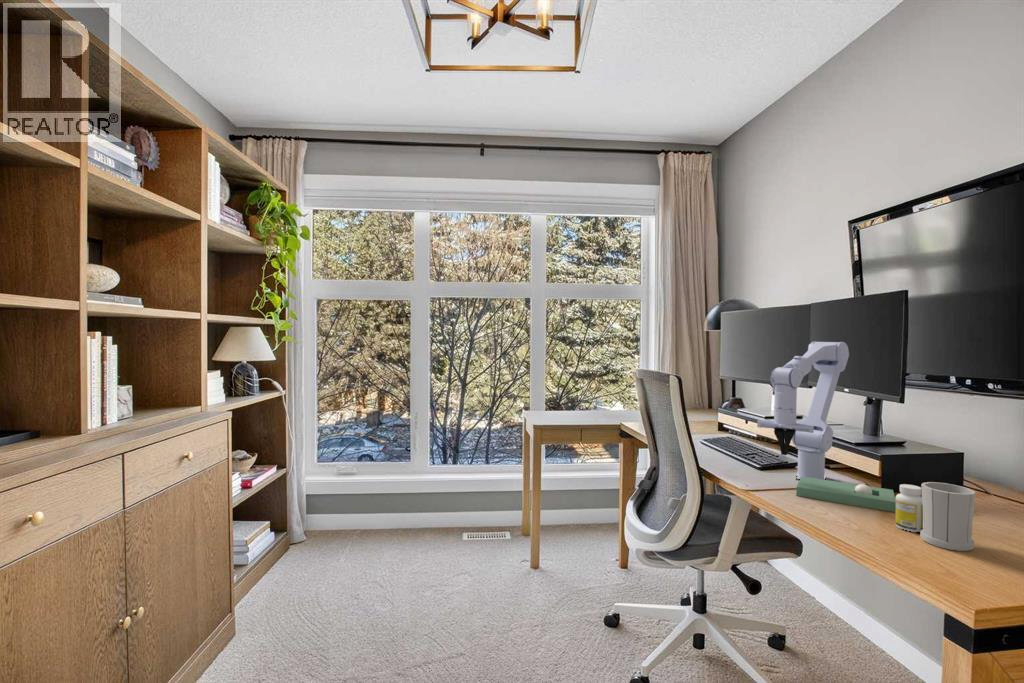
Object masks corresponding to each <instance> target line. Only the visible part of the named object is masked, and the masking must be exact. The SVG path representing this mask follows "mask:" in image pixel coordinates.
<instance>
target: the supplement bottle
mask: <svg viewBox="0 0 1024 683" xmlns="http://www.w3.org/2000/svg"><path fill="white" fill-rule="evenodd" d="M899 492H900V493H898V494H896V495H895V500H896V512H895V526H896V528H898V529H899V530H902V529H904V530H903V531H905V530H907V531H906V532H909V531H911V532H910V533H916V532H920V531H921V530H922V529H923V500H922V487H921V486H918V485H914V484H906V483H903V484H902V483H901V484H899Z"/></svg>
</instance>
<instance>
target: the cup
mask: <svg viewBox="0 0 1024 683" xmlns="http://www.w3.org/2000/svg"><path fill="white" fill-rule="evenodd" d="M920 487H921V489H922V493H921V497H922V500H923V529H922V530H921V531H920V535H919V536H920V538H921V540H923V541H924V542H925V541H926V542H925V543H927V544H929V545H931V544H932V546H933V547H937V548H940V547H941V548H940V549H944V548H945V550H948V549H949V551H954V550H956V551H955V552H969V550H970V551H972V550H974V549H975V541H974V540H973V538H972V536H973V519H974V517H975V510H976V509H975V507H976V503H975V502H976V495H977V493H976V491H975V490H974V489H971V488H968V487H964V486H961V485H956V484H951V483H946V482H935V481H927V482H922V483H921V486H920Z"/></svg>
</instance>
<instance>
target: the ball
mask: <svg viewBox="0 0 1024 683" xmlns="http://www.w3.org/2000/svg"><path fill="white" fill-rule="evenodd" d="M870 487H871V486H870ZM870 487H869V486H868V485H867V484H864V483H860V484H857V486H856V487H855V489H854V492H856V493H862V494H869V495H872V490H871V488H870Z"/></svg>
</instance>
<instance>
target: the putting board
mask: <svg viewBox="0 0 1024 683" xmlns="http://www.w3.org/2000/svg"><path fill="white" fill-rule="evenodd" d="M857 485H858V484H855V483H849V482H842V481H835V480H829V479H826V480H823V479H816V478H810V477H803V476H801V477H800V480H799V479H798V482H797V485H796V489H795V490H796V493H795V494H796V496H797V497H802V498H807V499H808V498H809V499H814V500H820V501H825V502H826V501H827V502H832V503H839V504H843V505H844V504H845V505H852V506H855V507H861V508H869V509H874V510H879V509H880V511H888V512H891V511H893V512H892V513H896V495H895V493H894V489H889V488H882V487H875V486H869V487H870V488H871V490H872V495H869V494H862V493H856V492H854V489H855V487H856V486H857Z"/></svg>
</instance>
